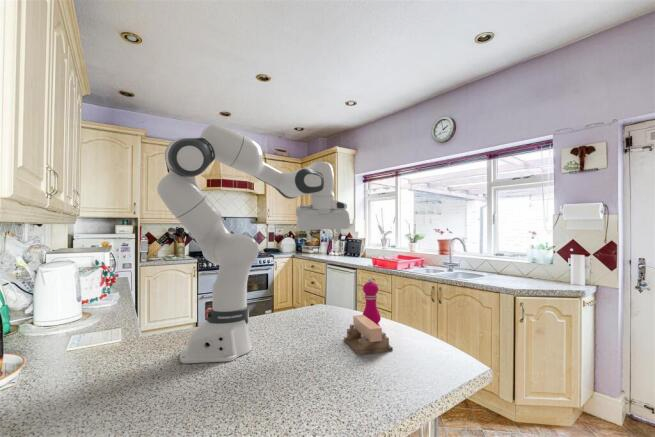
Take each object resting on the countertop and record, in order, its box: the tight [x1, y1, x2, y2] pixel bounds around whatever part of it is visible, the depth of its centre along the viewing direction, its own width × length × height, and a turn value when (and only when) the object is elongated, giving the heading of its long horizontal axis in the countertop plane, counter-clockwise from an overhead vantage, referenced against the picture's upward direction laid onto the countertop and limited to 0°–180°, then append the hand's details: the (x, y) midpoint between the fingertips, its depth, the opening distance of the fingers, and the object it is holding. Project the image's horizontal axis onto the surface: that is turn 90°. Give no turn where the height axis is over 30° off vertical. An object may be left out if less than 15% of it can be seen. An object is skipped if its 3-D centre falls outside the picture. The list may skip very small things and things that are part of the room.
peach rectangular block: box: [352, 314, 383, 342], centre depth 108 cm, size 4×16×4 cm, turn 15°
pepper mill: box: [362, 277, 381, 327], centre depth 125 cm, size 7×7×20 cm
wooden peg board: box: [343, 324, 394, 356], centre depth 108 cm, size 12×14×6 cm
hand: (323, 241), depth 120 cm, fingers open, 8 cm apart
